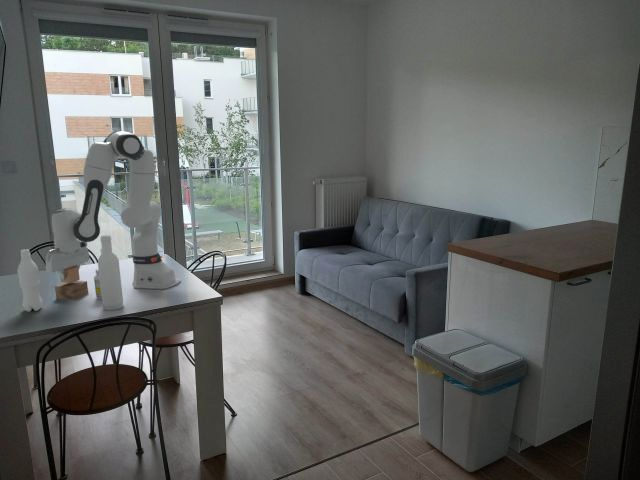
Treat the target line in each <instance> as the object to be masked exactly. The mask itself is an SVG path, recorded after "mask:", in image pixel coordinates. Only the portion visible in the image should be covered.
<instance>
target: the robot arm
mask: <svg viewBox="0 0 640 480" xmlns="http://www.w3.org/2000/svg"><path fill="white" fill-rule="evenodd" d="M119 157H121V158H126V159H127V160H128V164H129V168H128V169H129V177H128V178H129V184H128V185H129V186H128V194H127V196H126V197H127V198H126V202H125V205H124V207H123V209H122V211H121V213H120V220H121V222H122V224H123V225H124V226H126V227H128V228H133V229H134V234H133V235H132V238H131V242H132V252H133V254H132V262H133V266H134V267H133V281H132V286H133V289H151V290H154V289H155V290H164V289H168V288H172V287H174V286H177V285H178V284H179V283H181V278H176V274H175V270H174V269H173V268H171V267H170V266H169V265H168V264H167V263H165V262H164V261H163V260H162V258H164V255H163V254H162V255H160V253H159V251H158V250H159V249H158V230H159V223H160V218H161V216H162V213H163V210H162V207H161V205H160V204H159V203H158V202H156V201H154V200H152V197H153V194H154V192H155V189H156V183H155V182H156V165H155V158H154V157H155V156H154V154H153V151H151V150H150V149H148V148H145V147H144V145H143V143H142V141H141V139H140V138H139V136H137V134H134V133H132V132H128V131H123V130H121V131H119V130H118V131H113V132H111V133H110V134H109V135H107V137H105V139H104V140H103V141H96V142H93V143H92V144H91V145H90V147H89V149H88V152H87V154H86V157H85V161H84V162H85V163H84V168H83V177H82V178H83V186H84V200H83V206H82V210H81V212H78V211H76V210H74V209H72V208H70V207H67V208H61V209H57V210H56V211H54V212H53V213H52V214H51V227H52V228H51V229H52V232H53V236H54V237H53V245H54V249H49V250H48V251H47V253H45V270H46V272H48V273H56V272H57V273H58V274H59V277H60V276H61V278H60V280H61V279H66V278H67V277H66V275H64V273H63V272H64V269H66V268H69V267H72V266H79V268H78V269H79V270H80V268H81V264H82V265H83V264H85V263H87V262H89V260H90V252H89V249H88V243H90V242H93V241H96V239H98V237H99V236H100V234H101V227H100V223H99V213H100V208H101V203H102V198H103V196H104V193H105V191H106V189H107V187H108V186H109V185H108V184H109V183H110V180H111V177H112V174H113V169H114V164H115V161H116V160H117V159H118V158H119Z"/></svg>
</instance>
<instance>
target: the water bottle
mask: <svg viewBox="0 0 640 480" xmlns="http://www.w3.org/2000/svg"><path fill="white" fill-rule="evenodd" d="M31 255H32V254H31V253H30V249H21V250H20V257H21V258H20V262H19V263H18V265H17V266H18V267H17V270H16V271H17V275H18V276H17V277H18V283H19V287H20V289H21V291H22V295H23V296H22V297H23V301H22V303H21V305H22V307H23V309H24V310H25V312H28V313H29V312H32V310H34V311H35V312H37V311H39V310H40V309H42V308H43V302H44V301H43V299H42V296H41V295H40V290H39V288H40V284H41V281H40V276H39V268H38V265H37V264H36V263H35V262H34V260H33V259H32V257H31Z"/></svg>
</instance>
